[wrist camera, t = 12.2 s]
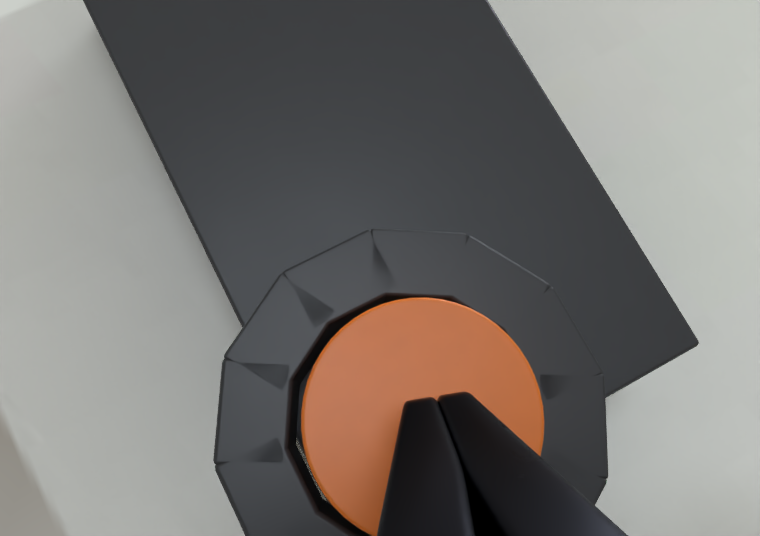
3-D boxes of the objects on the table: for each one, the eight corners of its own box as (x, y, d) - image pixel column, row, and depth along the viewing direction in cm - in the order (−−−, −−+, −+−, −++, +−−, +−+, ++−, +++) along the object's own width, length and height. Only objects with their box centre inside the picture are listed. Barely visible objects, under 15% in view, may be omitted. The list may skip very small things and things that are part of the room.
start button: (367, 570, 11) (372, 598, 9) (271, 373, 12) (258, 365, 10) (554, 463, 11) (590, 470, 10) (452, 280, 12) (470, 257, 10)
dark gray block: (334, 598, 17) (327, 718, 10) (63, 30, 20) (-82, -173, 13) (638, 422, 18) (813, 422, 11) (340, -84, 21) (339, -321, 15)
